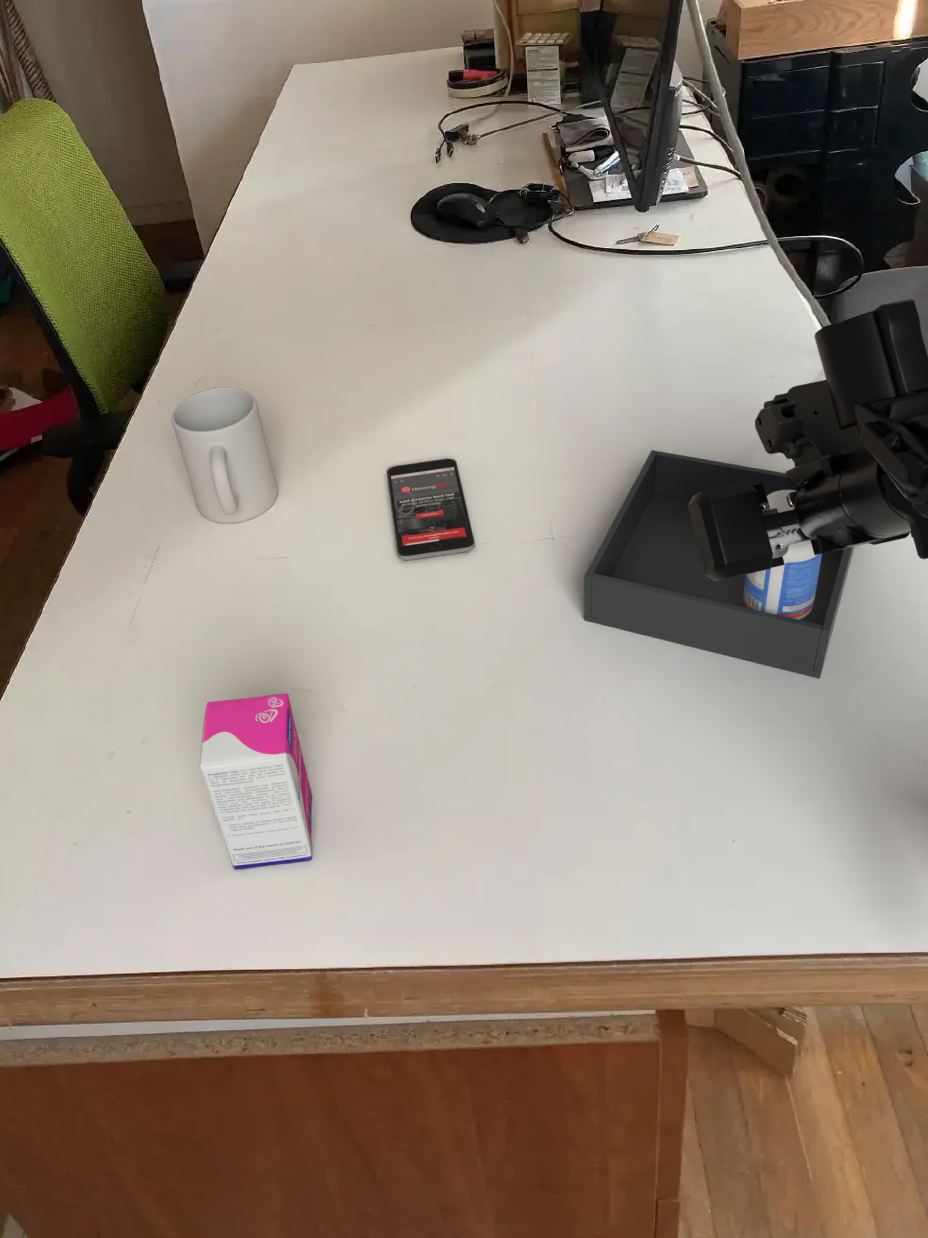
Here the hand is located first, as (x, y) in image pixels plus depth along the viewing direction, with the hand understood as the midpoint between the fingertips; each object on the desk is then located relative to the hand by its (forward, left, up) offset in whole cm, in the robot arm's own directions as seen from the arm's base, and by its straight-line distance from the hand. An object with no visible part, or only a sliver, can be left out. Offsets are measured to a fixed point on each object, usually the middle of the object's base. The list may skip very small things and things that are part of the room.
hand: (778, 528), depth 79 cm
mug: (+52, +2, -10) cm, 53 cm away
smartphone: (+33, -4, -9) cm, 35 cm away
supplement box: (+27, +34, -10) cm, 45 cm away
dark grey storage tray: (+4, -4, -9) cm, 11 cm away
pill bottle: (-1, +1, -7) cm, 7 cm away
